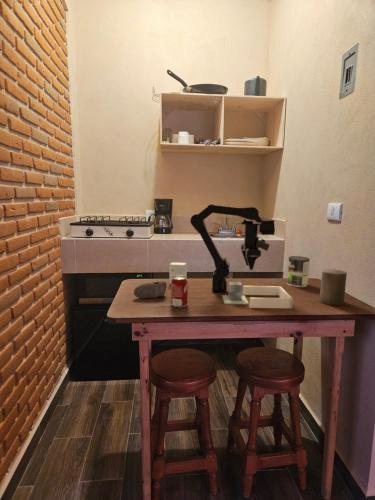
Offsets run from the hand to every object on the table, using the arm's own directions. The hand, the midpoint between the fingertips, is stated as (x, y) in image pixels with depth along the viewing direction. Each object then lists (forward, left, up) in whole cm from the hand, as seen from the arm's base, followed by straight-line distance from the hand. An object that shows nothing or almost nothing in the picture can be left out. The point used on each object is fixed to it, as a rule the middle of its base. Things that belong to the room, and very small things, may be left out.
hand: (249, 267), depth 147 cm
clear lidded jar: (+28, +15, -12) cm, 34 cm away
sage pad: (-8, -12, -12) cm, 19 cm away
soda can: (-32, -20, -12) cm, 40 cm away
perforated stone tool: (-45, -10, -12) cm, 48 cm away
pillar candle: (+34, -12, -12) cm, 38 cm away
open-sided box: (+5, -12, -12) cm, 18 cm away
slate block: (-8, -12, -11) cm, 18 cm away
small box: (-34, +14, -12) cm, 39 cm away
